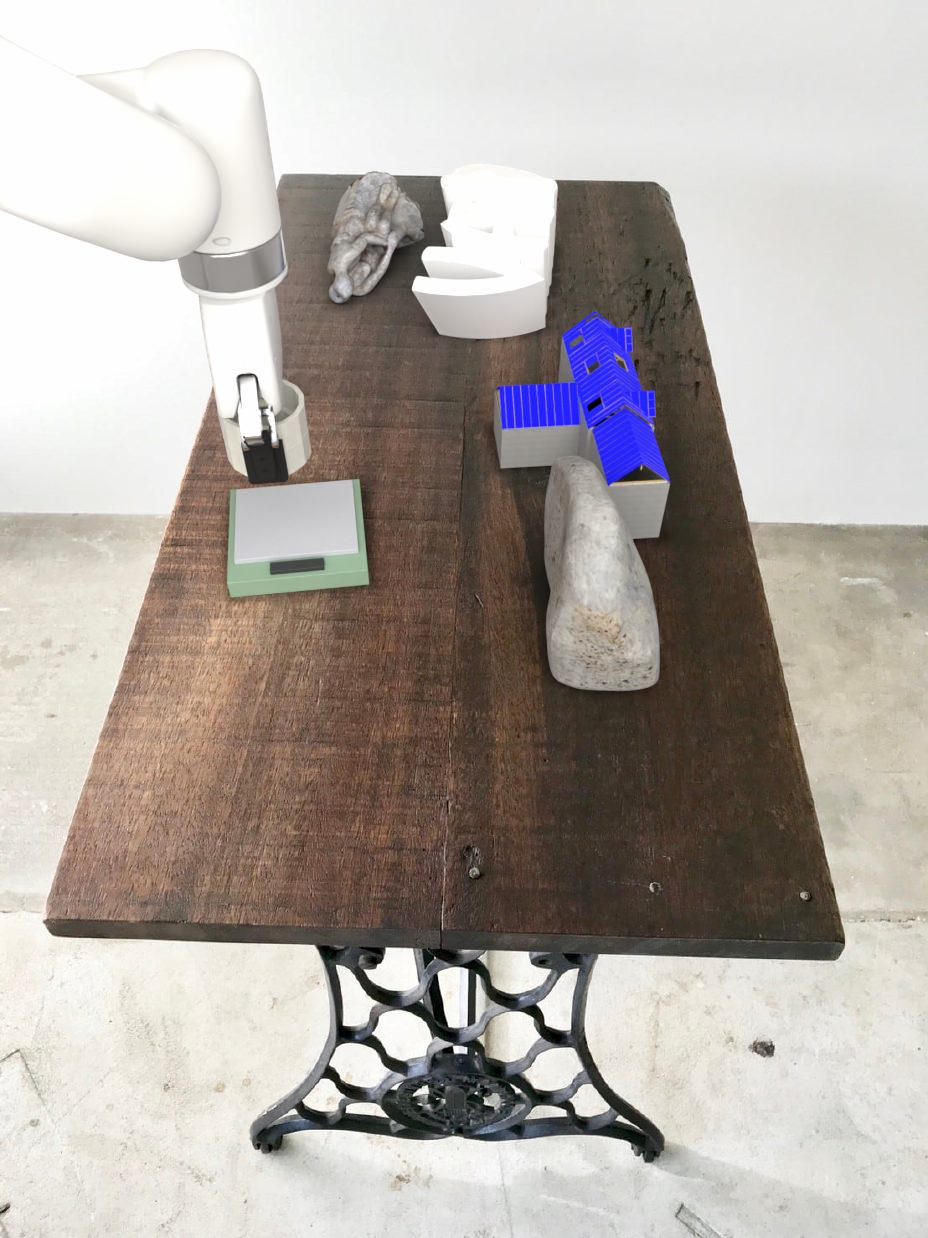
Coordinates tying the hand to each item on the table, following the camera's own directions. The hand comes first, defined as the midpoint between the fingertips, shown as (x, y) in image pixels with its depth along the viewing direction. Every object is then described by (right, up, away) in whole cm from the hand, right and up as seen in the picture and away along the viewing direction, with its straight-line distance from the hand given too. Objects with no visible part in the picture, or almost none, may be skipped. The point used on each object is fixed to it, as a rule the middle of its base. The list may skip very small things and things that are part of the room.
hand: (269, 449), depth 82 cm
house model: (+28, +3, +22) cm, 36 cm away
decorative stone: (+28, -15, +7) cm, 32 cm away
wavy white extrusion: (+20, +29, +45) cm, 58 cm away
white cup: (0, -1, +1) cm, 1 cm away
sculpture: (+4, +31, +47) cm, 56 cm away
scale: (0, -7, +14) cm, 15 cm away
